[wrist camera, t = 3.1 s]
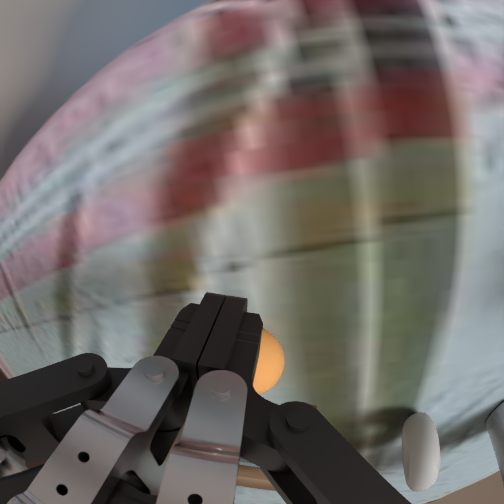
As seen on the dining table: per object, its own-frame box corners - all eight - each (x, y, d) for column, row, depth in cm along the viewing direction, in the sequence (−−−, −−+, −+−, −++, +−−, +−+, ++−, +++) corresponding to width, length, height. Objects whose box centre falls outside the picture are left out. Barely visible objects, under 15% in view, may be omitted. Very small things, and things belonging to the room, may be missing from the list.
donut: (400, 401, 24) (414, 480, 15) (429, 392, 23) (450, 468, 14) (397, 439, 28) (405, 503, 19) (422, 432, 27) (433, 494, 18)
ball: (291, 317, 22) (286, 368, 17) (281, 365, 24) (275, 414, 19) (221, 306, 22) (200, 353, 17) (221, 355, 25) (203, 401, 20)
